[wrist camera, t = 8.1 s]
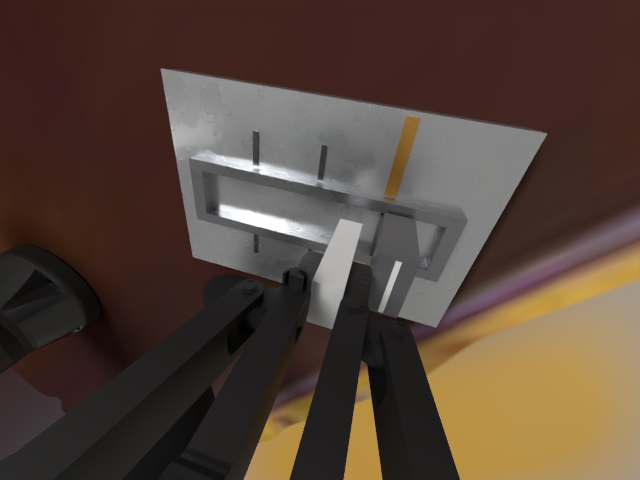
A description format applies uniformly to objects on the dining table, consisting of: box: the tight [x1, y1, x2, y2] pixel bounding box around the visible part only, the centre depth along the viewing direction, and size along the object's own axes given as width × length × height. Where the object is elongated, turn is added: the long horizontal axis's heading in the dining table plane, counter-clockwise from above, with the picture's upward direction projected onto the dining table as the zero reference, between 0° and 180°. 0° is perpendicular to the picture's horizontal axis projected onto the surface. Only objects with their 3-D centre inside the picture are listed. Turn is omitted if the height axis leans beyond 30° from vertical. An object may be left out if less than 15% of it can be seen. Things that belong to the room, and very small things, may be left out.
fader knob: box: [368, 213, 421, 318], centre depth 16 cm, size 2×4×6 cm, turn 172°
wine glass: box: [122, 275, 246, 480], centre depth 23 cm, size 10×10×20 cm
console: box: [161, 69, 547, 327], centre depth 20 cm, size 24×16×3 cm, turn 82°
